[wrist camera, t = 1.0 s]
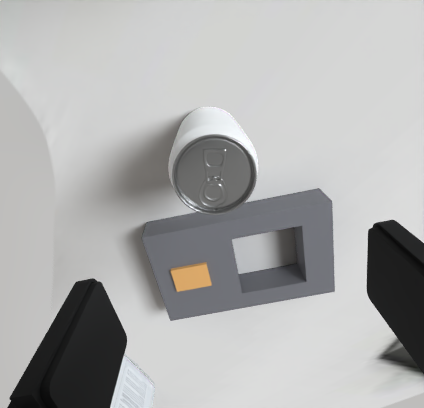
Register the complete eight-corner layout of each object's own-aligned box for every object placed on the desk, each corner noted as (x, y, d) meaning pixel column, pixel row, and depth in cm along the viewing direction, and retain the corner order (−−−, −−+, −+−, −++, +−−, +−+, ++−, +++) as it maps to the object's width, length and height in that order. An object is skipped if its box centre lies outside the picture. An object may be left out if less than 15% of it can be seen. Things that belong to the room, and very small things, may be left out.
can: (178, 168, 31) (167, 220, 21) (176, 104, 29) (163, 126, 18) (238, 168, 32) (258, 220, 21) (242, 106, 29) (268, 128, 18)
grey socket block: (146, 222, 34) (140, 239, 30) (319, 188, 33) (333, 202, 29) (172, 300, 39) (170, 323, 35) (323, 272, 38) (336, 293, 34)
